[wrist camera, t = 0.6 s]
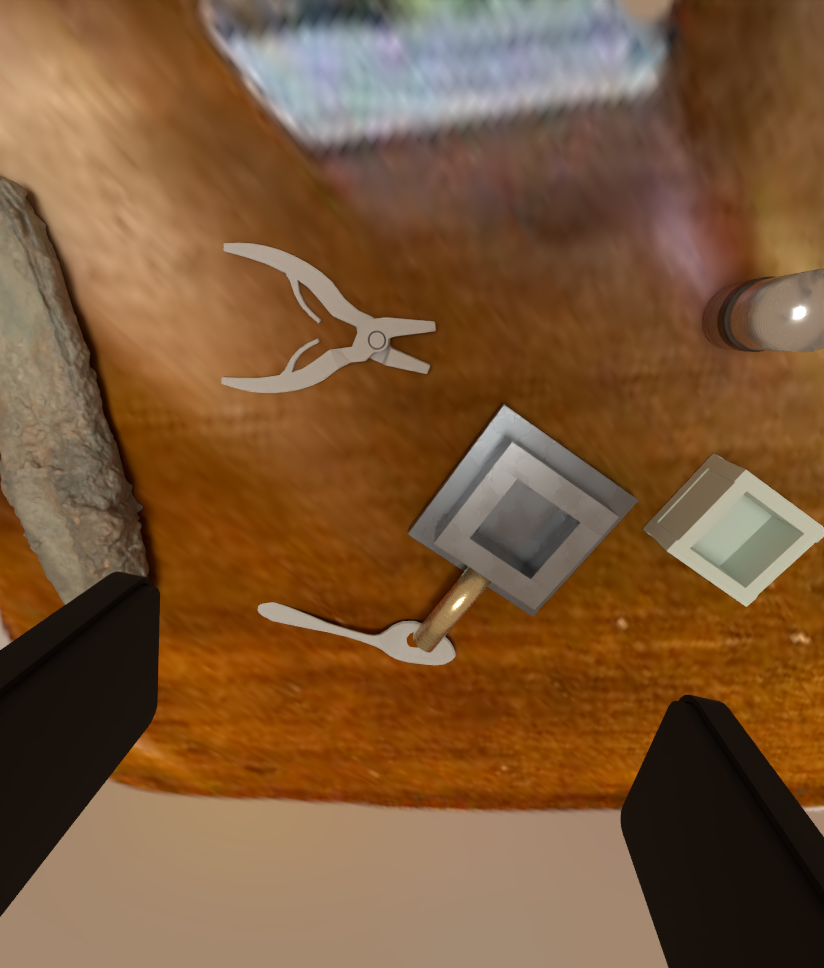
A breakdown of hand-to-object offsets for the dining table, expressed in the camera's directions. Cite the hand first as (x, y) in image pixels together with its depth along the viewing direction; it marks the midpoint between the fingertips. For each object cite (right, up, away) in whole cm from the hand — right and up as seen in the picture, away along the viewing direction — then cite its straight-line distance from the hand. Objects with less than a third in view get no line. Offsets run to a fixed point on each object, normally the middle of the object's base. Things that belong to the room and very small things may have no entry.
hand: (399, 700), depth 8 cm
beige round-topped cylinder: (+21, +15, +22) cm, 34 cm away
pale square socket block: (+23, +1, +26) cm, 35 cm away
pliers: (-6, +15, +25) cm, 30 cm away
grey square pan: (+6, -1, +28) cm, 29 cm away
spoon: (-6, -8, +32) cm, 34 cm away
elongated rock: (-27, +9, +29) cm, 40 cm away
